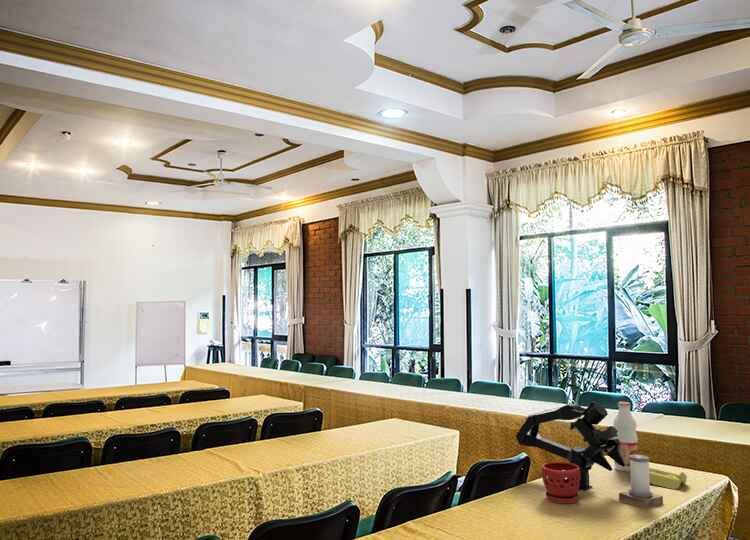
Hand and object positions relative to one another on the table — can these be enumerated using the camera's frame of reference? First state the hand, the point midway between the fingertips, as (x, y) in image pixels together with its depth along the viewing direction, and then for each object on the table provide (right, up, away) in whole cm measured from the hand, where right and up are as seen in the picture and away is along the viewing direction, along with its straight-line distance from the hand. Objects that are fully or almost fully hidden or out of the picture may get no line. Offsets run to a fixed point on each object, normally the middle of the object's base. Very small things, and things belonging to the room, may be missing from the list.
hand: (617, 468), depth 213 cm
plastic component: (+23, -12, +17) cm, 31 cm away
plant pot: (-22, -10, -4) cm, 24 cm away
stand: (+5, -10, -7) cm, 13 cm away
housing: (+5, -7, -7) cm, 11 cm away
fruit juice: (+18, -13, +36) cm, 42 cm away
